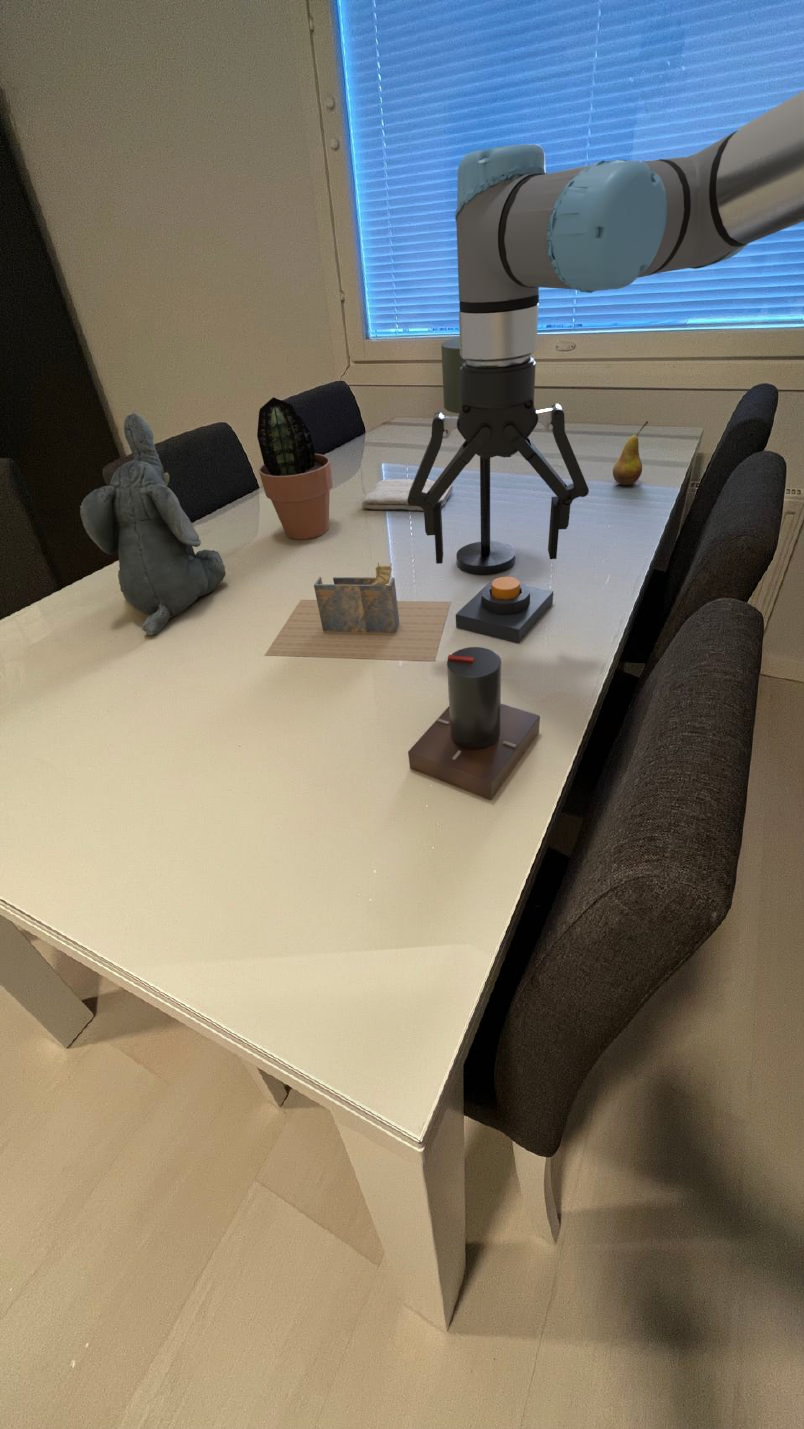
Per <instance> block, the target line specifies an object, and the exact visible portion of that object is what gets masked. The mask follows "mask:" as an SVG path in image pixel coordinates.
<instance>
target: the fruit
mask: <svg viewBox="0 0 804 1429" xmlns="http://www.w3.org/2000/svg"><path fill="white" fill-rule="evenodd" d="M648 423H649V421H648V420H647V421H645V423H644V424H642V426H641V428H640V429H639V431H638V432H636V434H633V435H631V436H630V437H629V438H628V439H627V441H626V442H625V444H624V447H623V448H622V450H621V453H620V455H619V457H618V459H617V460H616V461H615V463H614V465H613V468H612V476H613V479H614V481H615V482H616V483H617V484H618V485H621V486H631V485H633V484H635V483H636V482H638V481H639V479H640V477H641V475H642V472H643V463H642V460H641V457H640V450H639V437H638V436H639V434H640V433H641V431H642V430H643V429H644V427H646V426H647V425H648Z"/></svg>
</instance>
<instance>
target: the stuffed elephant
mask: <svg viewBox="0 0 804 1429" xmlns="http://www.w3.org/2000/svg"><path fill="white" fill-rule="evenodd" d="M123 433H124V436H125V437H124V438H125V440H126V442H127V445H128V446H129V449H130V451H131V454H132V456H133V457H134V458H133V460H130V461H127V462H125V463H123V464H122V465H121V466H119V467H118V468H117V469H116V470H115V471H114V472H113V475H112V477H111V480H110V482H109V485H103V486H101V487H99V488H96V489H93V491H91V492H90V493H88V495H86V496H85V497H84V498H83V499H82V502H81V505H79V507H80V508H79V509H80V510H79V511H80V514H79V515H80V518H81V521H82V526H83V528H84V529H85V532H86V534H87V535H88V536H89V538H90V539H91V540H92V542H94V543H95V545H96V546H97V547H98V548H99V549H100V550H101V551H102V552H103V553H106V554H107V555H111V556H112V555H115V554H116V553H117V554H118V556H117V557H118V563H119V565H118V567H119V569H118V574H117V577H118V583H119V584H118V585H119V586H120V587H119V588H120V592H121V593H122V596H123V597H124V599H125V600H126V601H127V603H129V605H131V606H132V607H133V608H135V609H136V610H137V611H139V612H141V613H143V614H145V615H147V616H148V617H147V618H146V619H145V620H144V622H143V624H142V626H141V629H142V631H143V632H145V633H146V635H147V636H150V637H153V636H156V635H157V634H158V633H159V632H160V631H161V630H162V629H163V628H164V626H166V625H167V623H168V621H169V619H170V618H172V617H176V616H178V615H180V614H181V613H182V612H184V611H185V610H186V609H188V608H189V606H191V605H192V604H193V603H195V602H196V600H198V598H199V597H200V598H201V597H203V596H205V595H208V594H209V593H211V592H213V591H214V590H216V589H217V588H218V587H219V586H220V585H221V584H222V582H223V581H224V578H225V577H226V564H224V561H223V558H222V556H221V554H220V552H219V551H217V550H214V549H212V550H211V549H202V550H199V551H197V552H195V550H194V548H198V547H200V546H201V544H202V541H201V540H200V536H199V534H198V532H197V531H196V529H195V527H194V525H193V524H192V522H191V520H190V518H189V516H188V515H187V514H186V512H185V510H183V507H181V505H180V504H181V503H180V501H179V498H178V497H177V495H176V494H175V493H174V492H173V491H172V489H171V488H170V487H168V485H169V482H170V474H169V473H168V472H165V471H164V466H163V465H162V462H161V459H160V455H159V453H158V451H157V450H156V446H155V444H154V432H153V430H152V429H151V425H150V424H149V422H147V421H146V420H145V419H144V417H142V416H140V415H139V414H137V413H136V412H132V413H131V414H128V415H127V416H126V417H125V419H124V423H123Z"/></svg>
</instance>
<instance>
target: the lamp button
mask: <svg viewBox="0 0 804 1429" xmlns="http://www.w3.org/2000/svg"><path fill="white" fill-rule="evenodd" d="M494 579H495V580H493V579H492V580H493V581H492V580H491V581H492V596H493V597H494V598H498V599H513V598H515V597H518V596H519V592H520V582H521V581H520V580H519V579H517V578H516V577H513V576H500V577H497V578H494Z"/></svg>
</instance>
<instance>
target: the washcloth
mask: <svg viewBox="0 0 804 1429" xmlns="http://www.w3.org/2000/svg"><path fill="white" fill-rule="evenodd" d="M413 481H414V479H410V478H409V479H408V478H397V479H387V478H386V479H382V480H378V481H377V482H376V484H375V485H374V487H373V489H372V490H371V491H370V492H369V493H368V494H367V495H366V496H365V497H364V499H362V501H361V506H362V508H364V509H368V510H376V511H377V510H379V511H380V510H383V511H385V510H388V511H389V510H390V511H391V510H393V511H394V510H397V511H398V510H405V511H419V512H424V511H423V509H422V508H421V507H419V506H416V505H415V506H410V505H409V504H408V502H407V499H408V495H409V491H410V488H411V486H412V484H413ZM435 481H436V480H431V479H430V478H427V481H426V483H425V486H424V488H423V490H422V492H424V493H427V492H428V491H429V490H430V488H431V487H432V486H433V484H434V483H435ZM453 487H454V485H453V484H451V485H450V487H449V488H448V489H447V490H446V492H445V493H444V494H443V496H442V497H441V498H440V500H439V501H438V502H437V503H440V502H441V508H442V507H443V506H444V505H446V502H447V501H448V499H449V497H450V496H451V495H452V493H453V490H454V488H453Z"/></svg>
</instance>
